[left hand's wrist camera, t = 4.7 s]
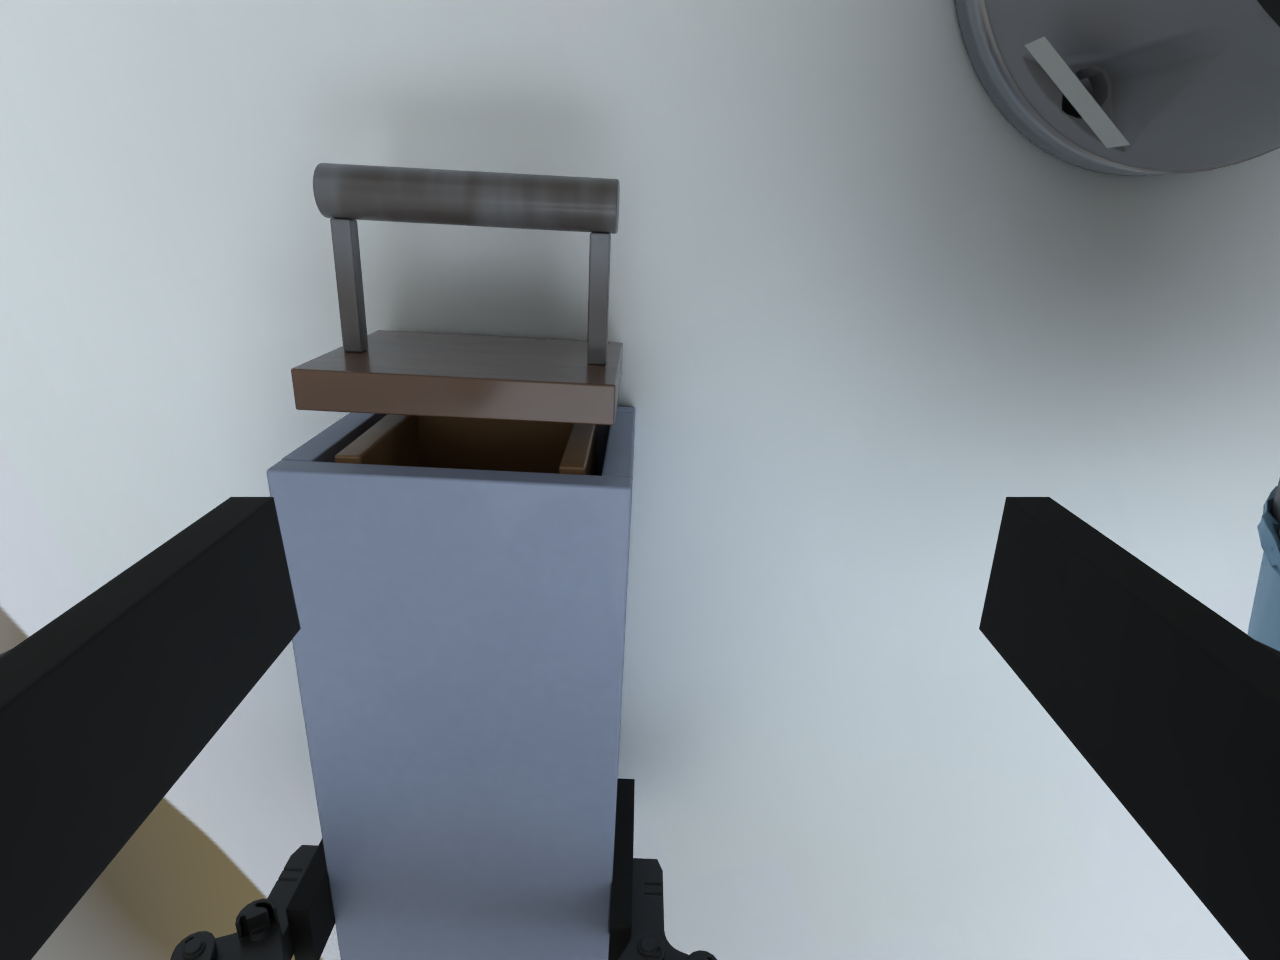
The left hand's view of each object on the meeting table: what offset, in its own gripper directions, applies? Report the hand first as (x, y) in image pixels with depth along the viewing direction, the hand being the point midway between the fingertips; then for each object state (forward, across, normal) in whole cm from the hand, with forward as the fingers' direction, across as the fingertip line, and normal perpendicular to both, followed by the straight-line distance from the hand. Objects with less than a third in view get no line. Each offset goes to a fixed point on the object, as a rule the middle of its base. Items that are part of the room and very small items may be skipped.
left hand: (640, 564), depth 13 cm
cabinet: (+16, -6, -12) cm, 21 cm away
